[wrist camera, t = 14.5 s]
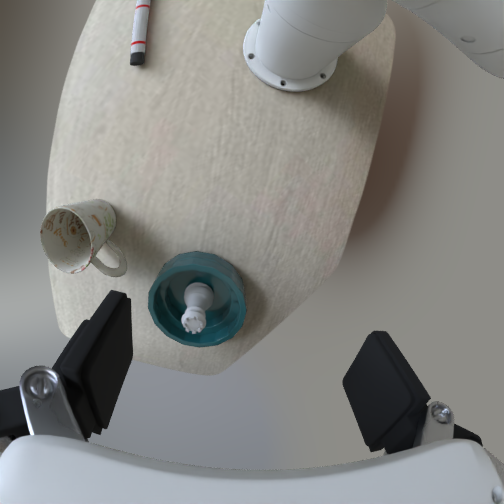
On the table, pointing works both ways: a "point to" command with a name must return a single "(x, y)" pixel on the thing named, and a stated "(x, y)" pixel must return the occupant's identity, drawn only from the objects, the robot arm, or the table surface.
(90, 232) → the mug
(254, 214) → the table surface
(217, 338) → the bowl
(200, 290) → the rook chess piece
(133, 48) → the marker
